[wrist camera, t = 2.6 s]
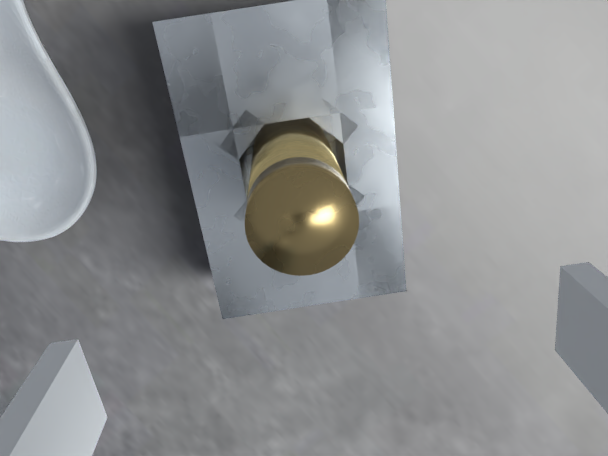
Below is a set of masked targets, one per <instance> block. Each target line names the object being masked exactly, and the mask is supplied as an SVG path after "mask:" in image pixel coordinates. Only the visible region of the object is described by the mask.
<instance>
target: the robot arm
mask: <svg viewBox="0 0 608 456" xmlns="http://www.w3.org/2000/svg"><path fill="white" fill-rule="evenodd" d="M555 351H556V352H557V353H558V354H559V355H560V357H561V358H562V359H563V360H564V361H565V363H566V364H567V365H568V366H569V367H570V369H571V370H572V371H573V372H574V374H575V375H576V376H577V377H578V378H579V380H580V381H581V382H582V383H583V384H584V386H585V387H586V388H587V389H588V390H589V392H590V393H591V394H592V395H593V396H594V398H595V399H596V400H597V401H598V402H599V404H600V405H601V406H602V407H603V409H604V410H605V411H606V412H607V413H608V277H607V276H605V275H604V274H603V273H602V272H600V271H599V270H598V269H597V268H595V267H594V266H593V265H592V264H590V263H589V262H586V263H579V264H573V265H566V266H560V281H559V296H558V311H557V327H556V342H555ZM106 419H107V415H106V412H105V410H104V407H103V404H102V402H101V399H100V396H99V394H98V391H97V388H96V386H95V383H94V380H93V378H92V375H91V372H90V370H89V367H88V364H87V362H86V359H85V356H84V354H83V351H82V348H81V346H80V343H79V340H78V339H74V340H68V341H61V342H55V343H50V344H49V345H48V347H47V348H46V350H45V351H44V353H43V354H42V356H41V357H40V359H39V360H38V362H37V363H36V365H35V366H34V368H33V369H32V371H31V372H30V374H29V375H28V377H27V378H26V380H25V381H24V383H23V385H22V386H21V388H20V389H19V391H18V392H17V394H16V395H15V397H14V398H13V400H12V401H11V403H10V404H9V406H8V407H7V409H6V410H5V412H4V413H3V415H2V416H1V418H0V456H92V454H93V452H94V449H95V447H96V444H97V442H98V439H99V437H100V434H101V432H102V429H103V427H104V424H105V422H106Z"/></svg>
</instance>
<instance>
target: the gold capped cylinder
mask: <svg viewBox="0 0 608 456" xmlns="http://www.w3.org/2000/svg"><path fill="white" fill-rule="evenodd" d="M358 229H359V214H358V209H357V206H356V203H355V200H354V198H353V196H352V194H351V192H350V189H349V187H348V185H347V183H346V180H345V178H344V176H343V174H342V171H341V169H340V167H339V165H338V163H337V160H336V158H335V156H334V154H333V151H332V149H331V147H330V145H329V142H328V140H327V138H326V136H325V134H324V132H323V130H322V129H321V127H320V126H319V125H318V124H317V123H315V122H314V121H313V120H311V119H310V118H309V117H308V118H302V119H295V120H289V121H282V122H275V123H269V124H264V125H263V127H262V128H261V129H260V131H259V132H258V134H257V135H256V138H255V141H254V147H253V155H252V163H251V172H250V180H249V188H248V196H247V205H246V213H245V234H246V237H247V241H248V243H249V245H250V247H251V249H252V251H253V252H254V253H255V255H256V256H257V257H258V258H259V259H260V260H261V261H262V262H263V263H264V264H266V265H267V266H268V267H270V268H272V269H274V270H276V271H278V272H281V273H284V274H288V275H295V276H305V275H312V274H317V273H320V272H323V271H325V270H327V269H330V268H331V267H333V266H334V265H336V264H337V263H339V262H340V261H341V260H342V259H343V258H344V257H345V256H346V255H347V254H348V252H349V251H350V250H351V248H352V246H353V244H354V242H355V240H356V237H357V234H358Z"/></svg>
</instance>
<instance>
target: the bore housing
mask: <svg viewBox="0 0 608 456" xmlns="http://www.w3.org/2000/svg"><path fill="white" fill-rule="evenodd" d="M152 23H153V27H154V31H155V35H156V40H157V44H158V48H159V52H160V57H161V61H162V65H163V69H164V73H165V78H166V82H167V86H168V90H169V95H170V99H171V103H172V107H173V111H174V116H175V120H176V124H177V128H178V133H179V137H180V141H181V145H182V149H183V154H184V158H185V162H186V166H187V171H188V175H189V179H190V183H191V187H192V192H193V196H194V200H195V204H196V209H197V213H198V217H199V221H200V226H201V230H202V234H203V238H204V242H205V247H206V251H207V255H208V259H209V264H210V268H211V272H212V276H213V280H214V285H215V289H216V293H217V297H218V302H219V306H220V310H221V314H222V318H223V319H226V318H233V317H239V316H246V315H252V314H259V313H266V312H272V311H279V310H285V309H292V308H298V307H305V306H311V305H318V304H324V303H331V302H337V301H344V300H350V299H357V298H363V297H370V296H377V295H383V294H390V293H396V292H403V291H406V280H405V265H404V251H403V237H402V223H401V209H400V195H399V181H398V167H397V152H396V138H395V124H394V110H393V96H392V82H391V68H390V54H389V39H388V25H387V11H386V0H294V1H287V2H280V3H274V4H267V5H261V6H254V7H247V8H241V9H234V10H228V11H221V12H214V13H208V14H201V15H195V16H188V17H181V18H175V19H168V20H162V21H155V22H152ZM308 117H309V118H310V119H311V120H313V121H314V122H315V123H317V124H318V125H319V126H320V127H321V129H322V130H323V132H324V134H325V136H326V138H327V140H328V142H329V145H330V147H331V149H332V151H333V154H334V156H335V158H336V160H337V163H338V165H339V167H340V169H341V171H342V174H343V176H344V178H345V180H346V183H347V185H348V187H349V189H350V192H351V194H352V196H353V198H354V200H355V203H356V206H357V209H358V214H359V229H358V234H357V237H356V240H355V242H354V244H353V246H352V248H351V250H350V251H349V252H348V254H347V255H346V256H345V257H344V258H343V259H342V260H341V261H340V262H339V263H337V264H336V265H334V266H333V267H331V268H330V269H327V270H325V271H323V272H320V273H317V274H312V275H305V276H295V275H288V274H284V273H281V272H278V271H276V270H274V269H272V268H270V267H268V266H267V265H266V264H264V263H263V262H262V261H261V260H260V259H259V258H258V257H257V256H256V255H255V253H254V252H253V251H252V249H251V247H250V245H249V243H248V241H247V237H246V234H245V213H246V205H247V196H248V188H249V180H250V172H251V163H252V155H253V147H254V141H255V138H256V135H257V134H258V132H259V131H260V129H261V128H262V127H263V125H264V124H269V123H275V122H282V121H289V120H295V119H302V118H308Z"/></svg>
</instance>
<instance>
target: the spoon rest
mask: <svg viewBox="0 0 608 456" xmlns="http://www.w3.org/2000/svg"><path fill="white" fill-rule="evenodd" d="M96 177H97V165H96V157H95V151H94V147H93V143H92V140H91V137H90V134H89V131H88V129H87V126H86V124H85V122H84V119H83V117H82V115H81V113H80V111H79V109H78V107H77V105H76V103H75V101H74V99H73V97H72V95H71V94H70V92H69V90H68V88H67V86H66V85H65V83H64V81H63V80H62V78H61V76H60V75H59V73H58V71H57V69H56V68H55V66H54V64H53V63H52V61H51V59H50V57H49V56H48V54H47V52H46V50H45V48H44V47H43V45H42V43H41V41H40V39H39V37H38V35H37V33H36V31H35V29H34V27H33V25H32V22H31V20H30V18H29V15H28V13H27V10H26V7H25V5H24V2H23V0H0V240H2V241H9V242H32V241H38V240H44V239H47V238H51V237H54V236H56V235H58V234H60V233H62V232H64V231H65V230H67V229H68V228H70V227H71V226H72V225H73V224H74V223H75V222H76V221H77V220H78V219H79V218H80V217H81V216H82V214H83V213H84V211H85V210H86V208H87V206H88V204H89V202H90V200H91V198H92V195H93V192H94V189H95V185H96Z"/></svg>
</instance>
